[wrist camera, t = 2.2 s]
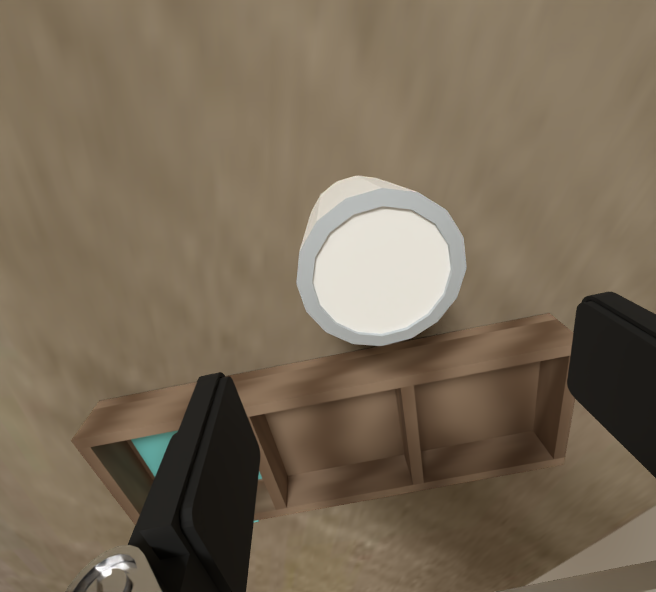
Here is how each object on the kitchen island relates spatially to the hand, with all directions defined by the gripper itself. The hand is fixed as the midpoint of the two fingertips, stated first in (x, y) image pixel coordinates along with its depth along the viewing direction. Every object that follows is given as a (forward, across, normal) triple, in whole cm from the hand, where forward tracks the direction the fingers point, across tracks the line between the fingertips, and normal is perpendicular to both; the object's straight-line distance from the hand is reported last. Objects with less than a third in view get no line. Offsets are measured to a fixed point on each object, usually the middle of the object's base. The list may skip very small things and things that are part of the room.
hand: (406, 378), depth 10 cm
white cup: (+12, -1, -1) cm, 13 cm away
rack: (+13, +3, +13) cm, 19 cm away
